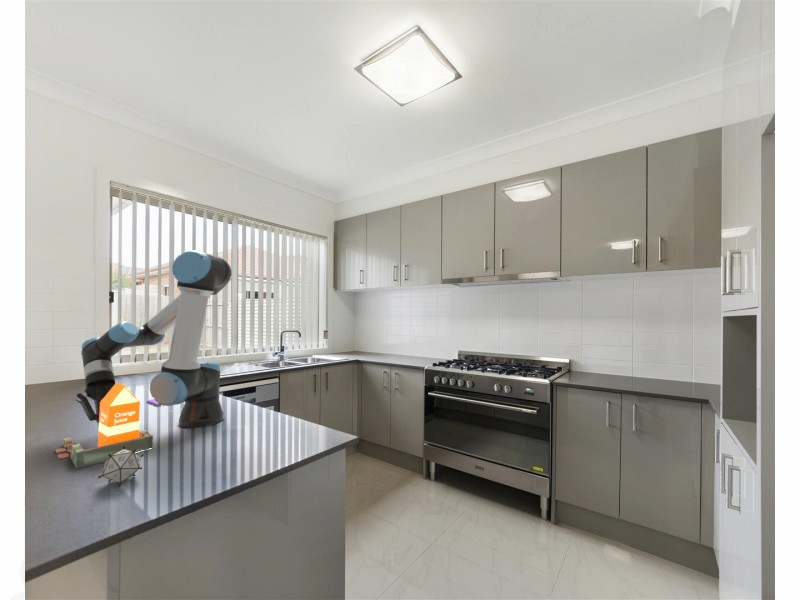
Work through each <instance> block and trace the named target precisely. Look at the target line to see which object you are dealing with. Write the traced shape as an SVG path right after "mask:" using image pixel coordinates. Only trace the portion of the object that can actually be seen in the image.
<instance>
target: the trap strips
mask: <svg viewBox="0 0 800 600" xmlns="http://www.w3.org/2000/svg"><path fill="white" fill-rule="evenodd" d="M54 451H56V452H55V453H57V458H58V460H63V459H67V457H68V458H70V454H69V453H67V449H66V448H65V447H61V448H56V449H55V448H54ZM63 451H66V452H63ZM60 452H62V453H60Z"/></svg>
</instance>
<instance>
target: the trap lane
mask: <svg viewBox="0 0 800 600" xmlns="http://www.w3.org/2000/svg"><path fill="white" fill-rule="evenodd" d="M153 441H154V436H153V435H152V434H151V433H149V431H147V430H146V429H142V430H139V433H138V438H135V439H131V440H126V441H122V442H118V443H113V444H109V445H104V446H100V447H98V446H96V447H92V448H88V449H87V448H86V449H84V448H83V447H82V446H81V444H80V443H77V444H75V443H73V439H72V438H71V437H66V438H63V444H62V445H64V446H63V448H65V449H66V453H67V452H70V453H69V458H70V457H71V458H70V459H72V460H71V461H72V463H73V465H74V466H75V468H76V469H79V468H83V467H88V466H91V464H92V465H95V464H98V462H99V463H101V462H106V461H107V460H108V458H109V457H110V456H108V454H111V455H113V454H115V453H117V452H119V451H121V450H122V449H123V446H125V449H127V450H130V451H133V450H134V449H136V451H135V452H138V451H141V450H146V449H149V448H152V449H153V448H154V447H153V446H154V445H153V443H154V442H153ZM66 447H67V448H66ZM87 465H88V466H87Z"/></svg>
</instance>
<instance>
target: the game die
mask: <svg viewBox="0 0 800 600" xmlns="http://www.w3.org/2000/svg"><path fill="white" fill-rule="evenodd" d="M135 451H136V449H134V450H133V451H130V450H127V449H125V446H123V449H122V450H121V451H119V452H117V453H115V454H113V455H111V454H108V456H110V457H109V458H108V460H107V461H103V462H100V463H101V464H102V465H104V466H103V470H102V472H101V474H100V475H98V477H97V479H100V478H105V479H108V483H111V482H112V481H113V482H115V483H118V487H119V488H120V486H121V487H122V483H124V482H125V481H127V480H128V479H130V478H131V477H133V476H137V475H136V473H137V472H138V471H139V470H143V469H144V468H143V467H142V466H141V459H142V457H144V456H145V454H144V453H142V454H141V455H140V454H138V453H135Z"/></svg>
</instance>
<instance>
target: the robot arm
mask: <svg viewBox="0 0 800 600" xmlns="http://www.w3.org/2000/svg"><path fill="white" fill-rule="evenodd" d="M171 271H172V275H173V276H174V278H175V279H176V281H177V283H176V288H177V289H178V290H179V292H180V294H179V295H178V296H176V297H175V298H174V299H173V300H171V302H169V303H168V304H167V305H166V306H165V307H163V309H161V310H160V311H158V313H156V314H155V315H154V316H153V317H151V318H150V319H149V320H148V321H147V322H145V323H144V324H143V325H142V326H136V325H135V324H134V323H132V322H128V321H120V322H118V323H117V324H115V325H113V326H112V327H110V328H109V329H108V330H107V331H106V332H105V333H103V335H101V336H100V337H93V338H90V339H87V340H85V341H83V343H82V344H81V352H80V353H81V356H82V357H81V358H82V365H83V372H84V382H85V383H84V384H85V389H84V392H81V393H80V392H79V393H77V394H76V397H75V401H76V402H77V403H79V404H80V405H81V407H82V409H83V411H84V413H85V414H86V415H85V416H87V418H88V421H89V422H93V421H96V423H97V427H98V428H97V429H99V414H100V402H101V401H102V399H103V398H104V397H105V396H106V395H107V393H108V392H109V391H110V390H111V389H112V387H113V386H114V385H115V384H116V379H115V374H114V372H115V371H114V367H113V362H112V358H113V357H114V356H115V355H117V354H118V353H119V352H121V350H123V349H125V348H133V347H144V346H154V345H159V344H160V343H162V342H163V341H164V339H165V337H166V333H167V332H169V331H170V330H171V329H172V328H173V327H174V328H173V334H172V339H171V345H170V350H169V356H168V359H167V360H166V361H164V362H163V363H162V364H161V369H160V373H157V374H156V376H154V377H153V378H152V379H151V380H150V381H151V382H150V383H149V384H150V385H149V392H150V396H151V397H152V398H153V399H155V401H156V402H157V403H159V404H161V405H163V406H165V407H171V406H176V405H180V404H183V403H184V404H183V408H182V409H181V412H180V415H179V417H178V426H179V425H180V426H179V427H184V428H199V427H200V426H201V427H205V426H206V427H207V426H211V425H214V424H218V423H220V422H221V421H223V420H224V414H225V413H224V411H223V408H222V404H221V401H220V385H221V384H220V382H221V364H220V363H218V362H198V356H199V351H200V345H201V342H202V341H201V339H202V336H203V335H202V334H203V328H204V324H205V318H206V312H207V308H208V303H209V302H208V301H209V298H210V296H215V295H217V294H218V293H220V292H221V291H222V290H223V289H224V288H225V287H226V286H227V285H228V284H229V282H230V281H231V279H232V273H233V272H232V267H231V265H230V264H229V263H228V262H227V261H226V260H225V259H224V258H221V257H219V256H215V255H212V254H210V253H206V252H203V251H198V250H187V251H184V252H182V253H181V254H179V255H177V257H176V258H175V259H174V261H173V263H172V267H171ZM87 397H88V398H90V399H91V400H92V401H93V402H94V403H93V404H94V407H95V410H94V409H93V407H92V406H91V403H90V402H89V399H88V398H87Z"/></svg>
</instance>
